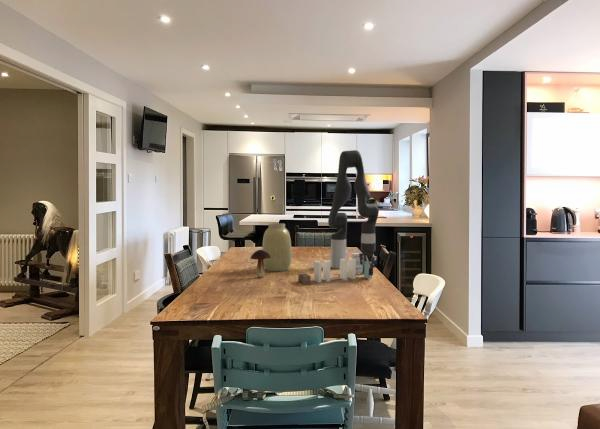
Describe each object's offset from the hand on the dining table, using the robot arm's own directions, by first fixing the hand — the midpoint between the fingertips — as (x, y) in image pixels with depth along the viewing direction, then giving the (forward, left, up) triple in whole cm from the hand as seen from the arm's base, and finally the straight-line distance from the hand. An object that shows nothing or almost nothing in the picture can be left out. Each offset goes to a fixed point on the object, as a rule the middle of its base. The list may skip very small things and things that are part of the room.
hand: (367, 274), depth 233 cm
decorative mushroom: (-29, -49, -3) cm, 57 cm away
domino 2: (-3, -23, -2) cm, 23 cm away
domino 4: (-3, -8, -2) cm, 9 cm away
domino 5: (0, 0, -3) cm, 3 cm away
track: (-3, -21, -3) cm, 22 cm away
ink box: (-14, +4, -3) cm, 15 cm away
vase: (-48, -32, -3) cm, 58 cm away
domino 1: (-3, -28, -2) cm, 28 cm away
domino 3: (-3, -13, -2) cm, 13 cm away
